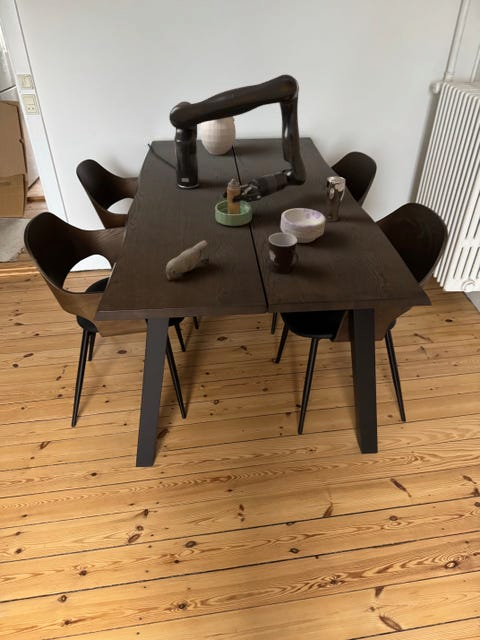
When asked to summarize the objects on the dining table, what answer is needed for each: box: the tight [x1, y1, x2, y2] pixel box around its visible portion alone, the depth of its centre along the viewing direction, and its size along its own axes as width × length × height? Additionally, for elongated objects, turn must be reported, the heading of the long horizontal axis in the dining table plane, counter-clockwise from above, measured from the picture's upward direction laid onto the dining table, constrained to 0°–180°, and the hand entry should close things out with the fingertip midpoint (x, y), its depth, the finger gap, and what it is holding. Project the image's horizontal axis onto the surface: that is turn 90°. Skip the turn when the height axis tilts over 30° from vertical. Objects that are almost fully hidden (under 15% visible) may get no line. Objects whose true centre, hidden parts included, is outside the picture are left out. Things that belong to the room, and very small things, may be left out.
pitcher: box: [199, 98, 237, 156], centre depth 220 cm, size 19×18×25 cm
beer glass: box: [322, 175, 346, 223], centre depth 160 cm, size 7×7×15 cm
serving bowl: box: [214, 200, 253, 227], centre depth 161 cm, size 14×14×5 cm
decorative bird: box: [165, 240, 210, 281], centre depth 131 cm, size 5×16×8 cm, turn 137°
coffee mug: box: [268, 232, 299, 274], centre depth 131 cm, size 12×9×10 cm
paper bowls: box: [280, 207, 327, 244], centre depth 149 cm, size 15×15×8 cm
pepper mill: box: [226, 177, 240, 214], centre depth 157 cm, size 5×5×14 cm
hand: (228, 197), depth 156 cm, fingers closed on pepper mill, 5 cm apart
